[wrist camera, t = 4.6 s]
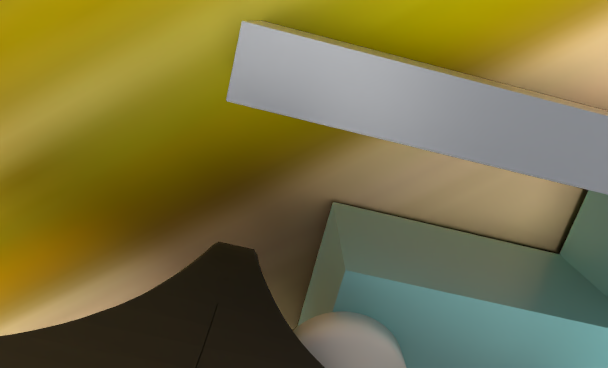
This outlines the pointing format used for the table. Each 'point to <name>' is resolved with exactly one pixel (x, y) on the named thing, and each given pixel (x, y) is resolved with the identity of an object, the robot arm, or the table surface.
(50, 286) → the table surface
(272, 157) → the table surface
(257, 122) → the table surface
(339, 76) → the grey tray
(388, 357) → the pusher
